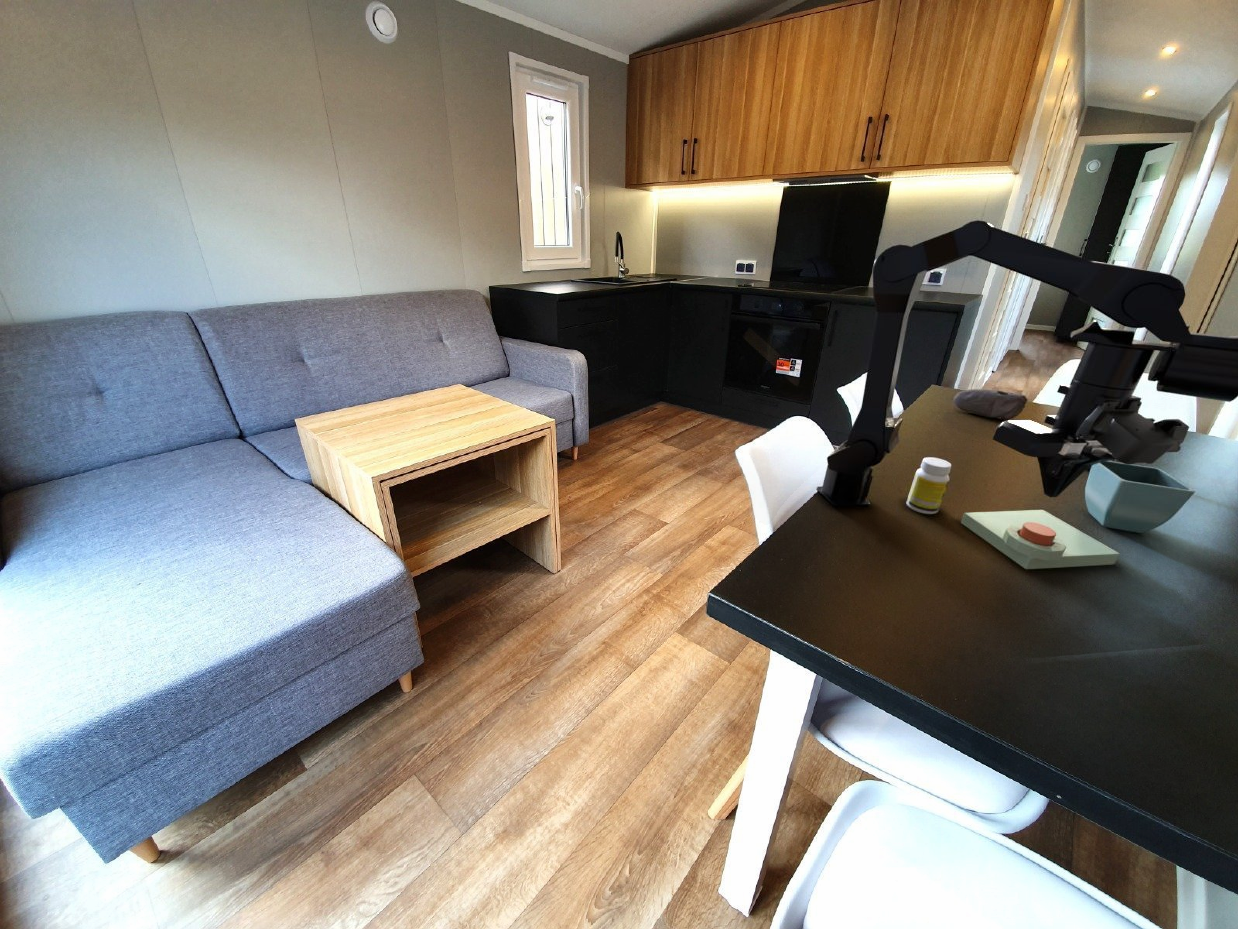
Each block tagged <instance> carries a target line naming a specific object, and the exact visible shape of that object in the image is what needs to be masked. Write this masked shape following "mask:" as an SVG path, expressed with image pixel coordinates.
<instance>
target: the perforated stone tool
mask: <svg viewBox="0 0 1238 929" xmlns="http://www.w3.org/2000/svg"><path fill="white" fill-rule="evenodd" d="M1028 400H1029V399H1028V398H1027V397H1026V395H1024V394H1018V393H1013V392H1009V391H1007V392H1006V391H1002V390H994V389H982V388H980V389H979V388H976V389H975V388H974V389H966V390H961V391H959V392H957V393H956V394H955V396H953V404H954V406H955V407H956V408H957V409H959V410H961V411H963V412H966V413H972V414H974V415H977V416H979V417H980V416H981V417H986V418H989V419H996V418H1000V420H1003V421H1010V420H1013V419H1015V418H1016V417H1018V416H1019V415H1020V414H1022V412H1023V410H1024V408H1026V405H1027V402H1028Z"/></svg>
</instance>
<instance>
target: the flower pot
mask: <svg viewBox="0 0 1238 929" xmlns="http://www.w3.org/2000/svg"><path fill="white" fill-rule="evenodd" d="M1195 493H1196V490H1194V489H1193V488H1191V487H1190V486H1188V485H1186V484H1185V483H1183V482H1182V481H1180V480H1178V479H1177V478H1175V477H1174V476H1172V475H1171V474H1168V472H1166V471H1164V470H1163V469H1161V468H1159V467H1152V466H1147V465H1146V466H1145V465H1139V464H1124V463H1119V462H1112V461H1105V462H1102V463H1098V464H1094V465H1092V467H1091V469H1090V470H1089V474H1088V478H1087V480H1086V483H1085V488H1084V499H1085V504H1086V507H1087V508H1086V509H1087V511H1088V513H1089V514H1090V515H1091V516H1092V517H1093V518H1094V519H1095V520H1096V521H1097V522H1098V523H1099V524H1100V525H1101V526H1102V527H1104V528H1108V529H1115V530H1120V531H1126V532H1131V533H1137V534H1143V533H1146V532H1150V531H1152V530H1155V529H1156V528H1160V526H1161V527H1162V526H1163V525H1164V524H1166V523H1167V522H1168V521H1170V520H1171V519H1172V518H1173V517H1174V516H1176V514H1177V513H1178V512H1179V511H1180V510H1181V509H1182V508H1183V507H1184V505H1185V504H1186V503H1187V502H1188V501H1189V500H1190V498H1192V496H1193V495H1194V494H1195Z"/></svg>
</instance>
